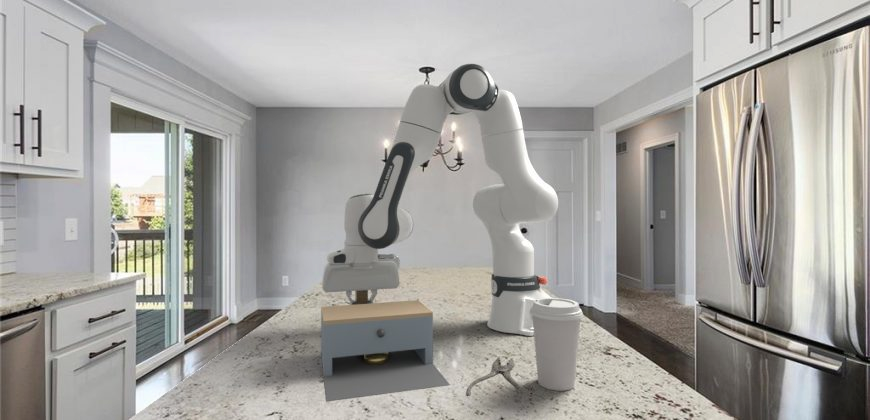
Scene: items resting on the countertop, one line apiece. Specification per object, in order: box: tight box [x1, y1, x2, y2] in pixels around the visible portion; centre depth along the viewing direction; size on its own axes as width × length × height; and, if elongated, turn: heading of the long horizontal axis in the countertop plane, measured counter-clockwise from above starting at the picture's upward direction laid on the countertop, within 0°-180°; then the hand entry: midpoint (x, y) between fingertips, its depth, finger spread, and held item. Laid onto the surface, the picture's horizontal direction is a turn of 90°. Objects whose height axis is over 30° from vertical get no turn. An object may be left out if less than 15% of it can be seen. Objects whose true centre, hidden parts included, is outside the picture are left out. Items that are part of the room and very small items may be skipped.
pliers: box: [466, 356, 523, 403], centre depth 82 cm, size 10×1×20 cm
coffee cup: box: [530, 297, 584, 392], centre depth 79 cm, size 10×10×15 cm
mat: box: [323, 349, 451, 402], centre depth 87 cm, size 22×25×1 cm
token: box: [364, 352, 388, 365], centre depth 90 cm, size 5×5×2 cm
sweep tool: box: [354, 290, 392, 357], centre depth 104 cm, size 8×23×13 cm, turn 17°
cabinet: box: [320, 299, 434, 377], centre depth 91 cm, size 22×13×11 cm, turn 107°
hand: (361, 306), depth 113 cm, fingers closed on sweep tool, 3 cm apart
